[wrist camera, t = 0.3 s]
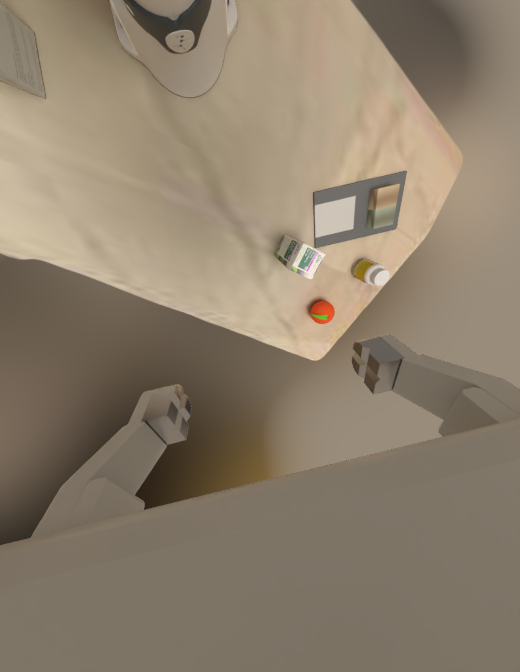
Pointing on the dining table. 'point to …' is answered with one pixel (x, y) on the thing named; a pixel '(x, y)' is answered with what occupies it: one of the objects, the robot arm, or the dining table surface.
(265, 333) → the dining table surface
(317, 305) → the clementine
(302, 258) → the syrup box
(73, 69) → the dining table surface
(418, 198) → the dining table surface
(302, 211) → the dining table surface
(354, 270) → the supplement bottle
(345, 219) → the mat
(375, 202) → the shiny reflective rectangular block
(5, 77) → the supplement box
